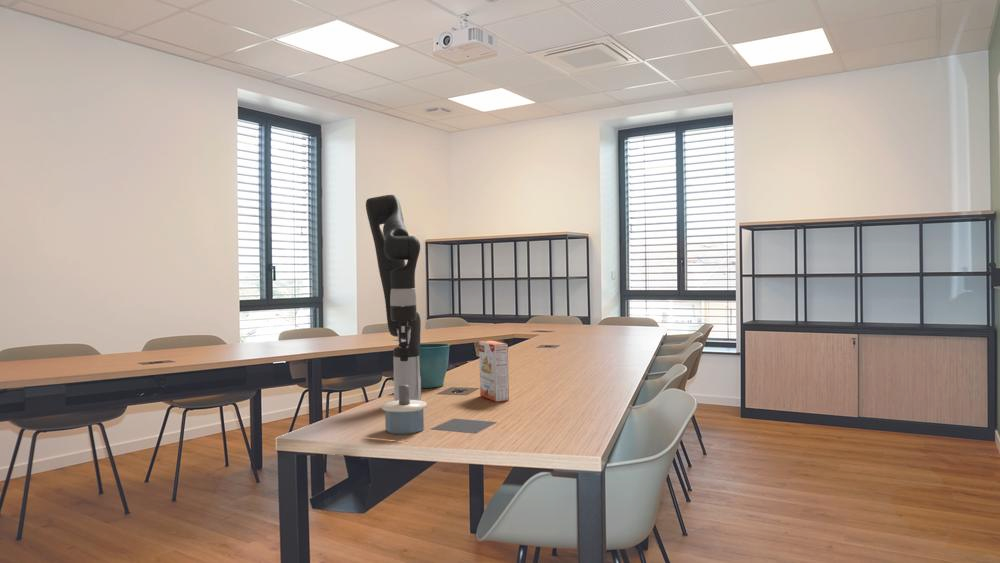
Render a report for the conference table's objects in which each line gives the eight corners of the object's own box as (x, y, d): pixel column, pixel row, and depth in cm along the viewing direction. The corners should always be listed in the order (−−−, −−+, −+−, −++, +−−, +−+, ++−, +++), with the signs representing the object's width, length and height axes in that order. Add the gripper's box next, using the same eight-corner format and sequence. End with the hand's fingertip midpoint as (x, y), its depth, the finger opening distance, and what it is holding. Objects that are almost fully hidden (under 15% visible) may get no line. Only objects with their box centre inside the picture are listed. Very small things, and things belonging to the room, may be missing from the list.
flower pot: (398, 386, 268) (397, 345, 268) (433, 381, 280) (432, 342, 280) (423, 391, 255) (423, 348, 255) (459, 385, 267) (458, 344, 267)
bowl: (399, 425, 197) (398, 402, 197) (430, 428, 192) (430, 405, 192) (378, 434, 187) (378, 409, 187) (411, 437, 182) (410, 412, 182)
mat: (453, 419, 204) (453, 418, 204) (497, 423, 198) (497, 422, 198) (430, 430, 190) (430, 429, 190) (475, 434, 184) (475, 433, 184)
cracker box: (479, 396, 243) (478, 340, 243) (493, 394, 246) (492, 340, 246) (494, 402, 231) (493, 344, 230) (509, 401, 233) (508, 343, 233)
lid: (397, 402, 198) (397, 380, 198) (434, 404, 193) (434, 383, 193) (373, 410, 186) (372, 387, 186) (412, 413, 181) (411, 390, 181)
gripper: (391, 303, 196) (392, 356, 196) (389, 305, 181) (390, 363, 182) (416, 302, 196) (417, 355, 197) (415, 305, 182) (417, 362, 183)
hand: (404, 359), depth 189 cm, fingers open, 8 cm apart
